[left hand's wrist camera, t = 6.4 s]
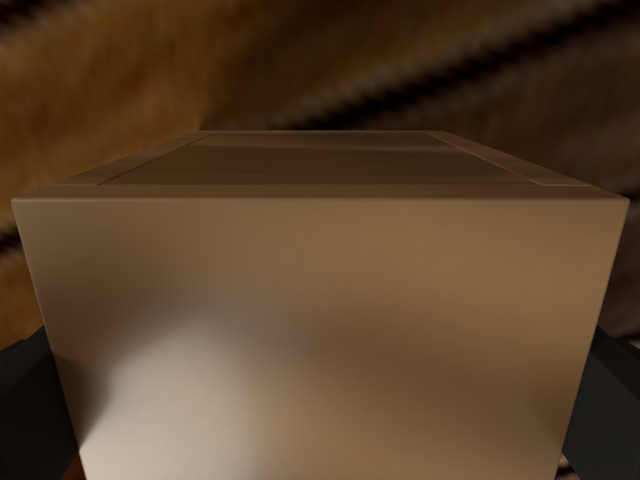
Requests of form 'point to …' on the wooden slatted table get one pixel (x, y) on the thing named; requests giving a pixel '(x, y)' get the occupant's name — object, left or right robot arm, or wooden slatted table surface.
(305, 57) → the wooden slatted table surface
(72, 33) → the wooden slatted table surface
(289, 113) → the wooden slatted table surface
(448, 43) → the wooden slatted table surface
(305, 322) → the cabinet
